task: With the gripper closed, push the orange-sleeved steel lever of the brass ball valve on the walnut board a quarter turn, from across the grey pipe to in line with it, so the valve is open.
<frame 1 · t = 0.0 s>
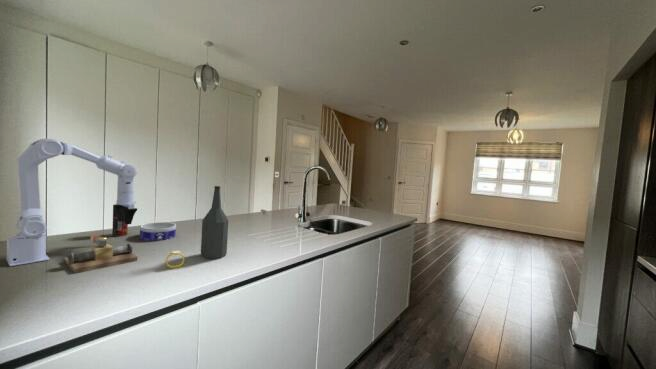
hand: (124, 222, 120), 10 cm above the worktop, tool pointing down, fingers open, 7 cm apart
deodorant: (120, 235, 134), on the worktop
valve lever: (98, 239, 104), point 7 cm above the worktop, hinge at 90.0°
dog bowl: (158, 237, 137), on the worktop
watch: (174, 267, 102), on the worktop
valve board: (102, 261, 102), on the worktop
bottle: (213, 255, 117), on the worktop
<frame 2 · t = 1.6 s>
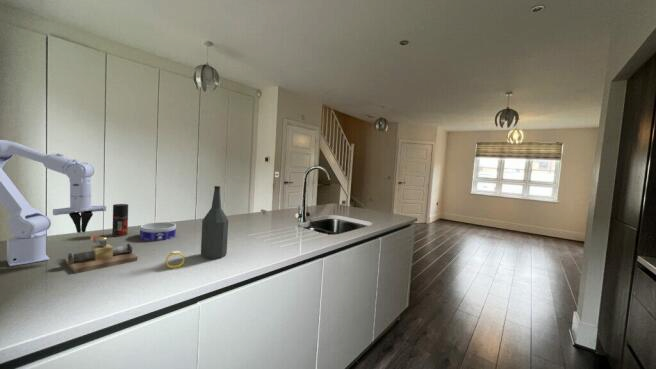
hand: (81, 232, 101), 10 cm above the worktop, tool pointing down, fingers closed
nothing on the worktop moved.
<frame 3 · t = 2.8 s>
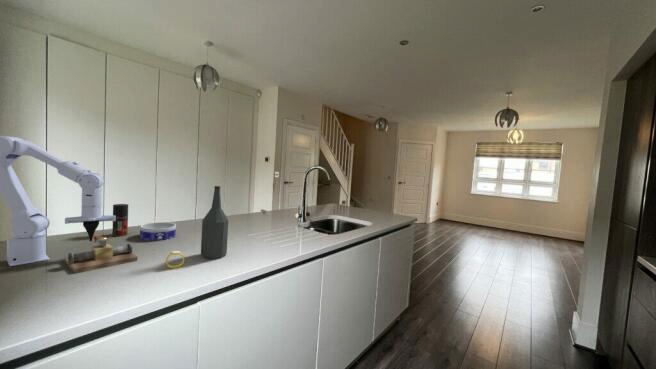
hand: (91, 240, 104), 6 cm above the worktop, tool pointing down, fingers closed
valve lever: (99, 239, 104), point 7 cm above the worktop, hinge at 87.2°, touching gripper
everything else where it was.
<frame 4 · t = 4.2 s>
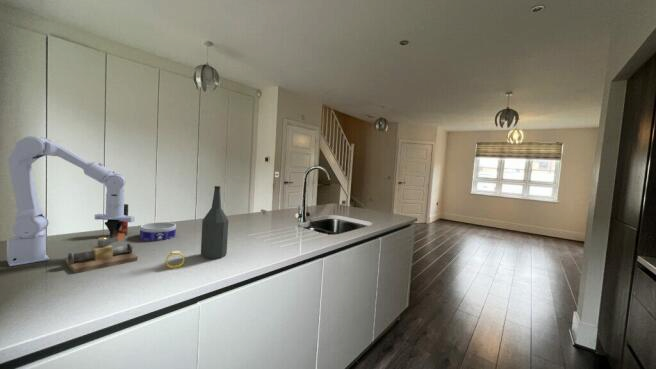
hand: (114, 238, 109), 6 cm above the worktop, tool pointing down, fingers closed, pressing on valve lever
valve lever: (111, 238, 106), point 7 cm above the worktop, hinge at 37.3°, touching gripper
everything else where it was.
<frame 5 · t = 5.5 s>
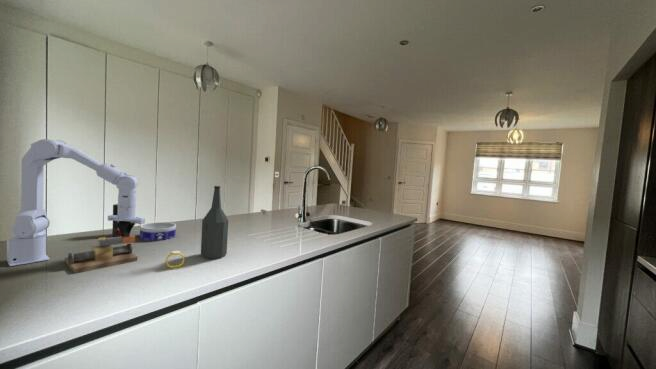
hand: (125, 240, 109), 6 cm above the worktop, tool pointing down, fingers closed, pressing on valve lever
valve lever: (116, 240, 105), point 7 cm above the worktop, hinge at -3.8°, touching gripper
everything else where it was.
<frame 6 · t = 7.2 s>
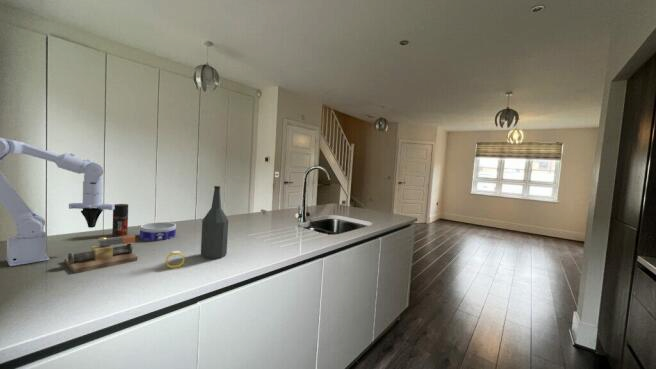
hand: (91, 227, 109), 10 cm above the worktop, tool pointing down, fingers closed
valve lever: (116, 240, 105), point 7 cm above the worktop, hinge at -4.3°
everything else where it was.
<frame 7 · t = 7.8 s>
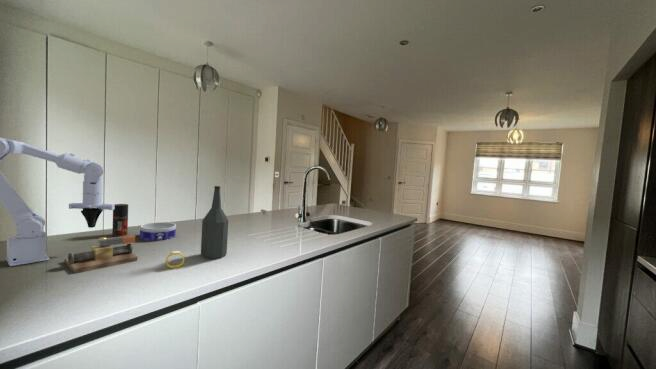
hand: (91, 227, 109), 10 cm above the worktop, tool pointing down, fingers closed
nothing on the worktop moved.
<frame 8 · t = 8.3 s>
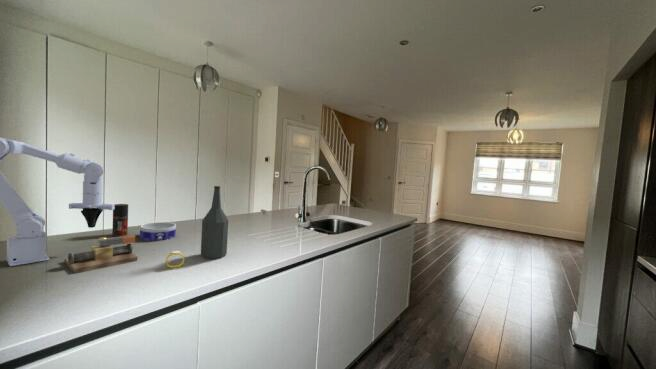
hand: (91, 227, 109), 10 cm above the worktop, tool pointing down, fingers closed
nothing on the worktop moved.
at the end: valve lever at -4° (first picture: +90°) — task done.
